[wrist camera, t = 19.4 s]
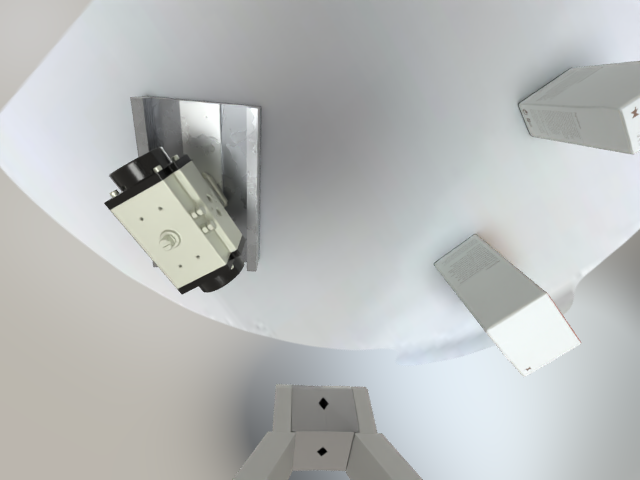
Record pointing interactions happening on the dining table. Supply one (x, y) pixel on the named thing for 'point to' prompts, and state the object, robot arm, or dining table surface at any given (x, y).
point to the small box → (507, 305)
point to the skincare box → (589, 108)
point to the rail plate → (211, 151)
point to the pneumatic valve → (178, 220)
